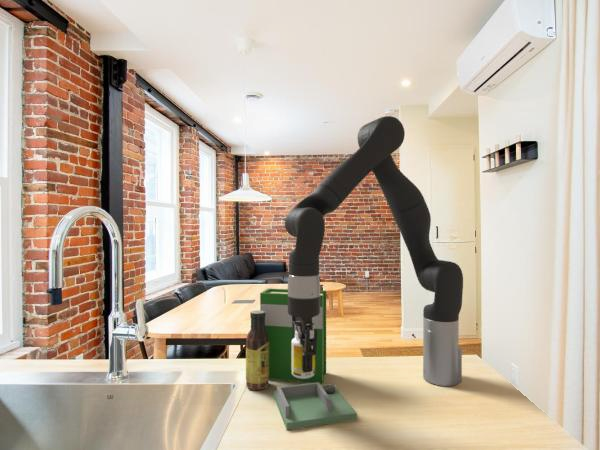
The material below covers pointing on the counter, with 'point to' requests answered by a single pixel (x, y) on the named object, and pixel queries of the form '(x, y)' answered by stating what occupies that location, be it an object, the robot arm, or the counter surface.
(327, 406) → the green plate with knob
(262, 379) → the sauce bottle
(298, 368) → the supplement bottle
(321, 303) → the hardback book
